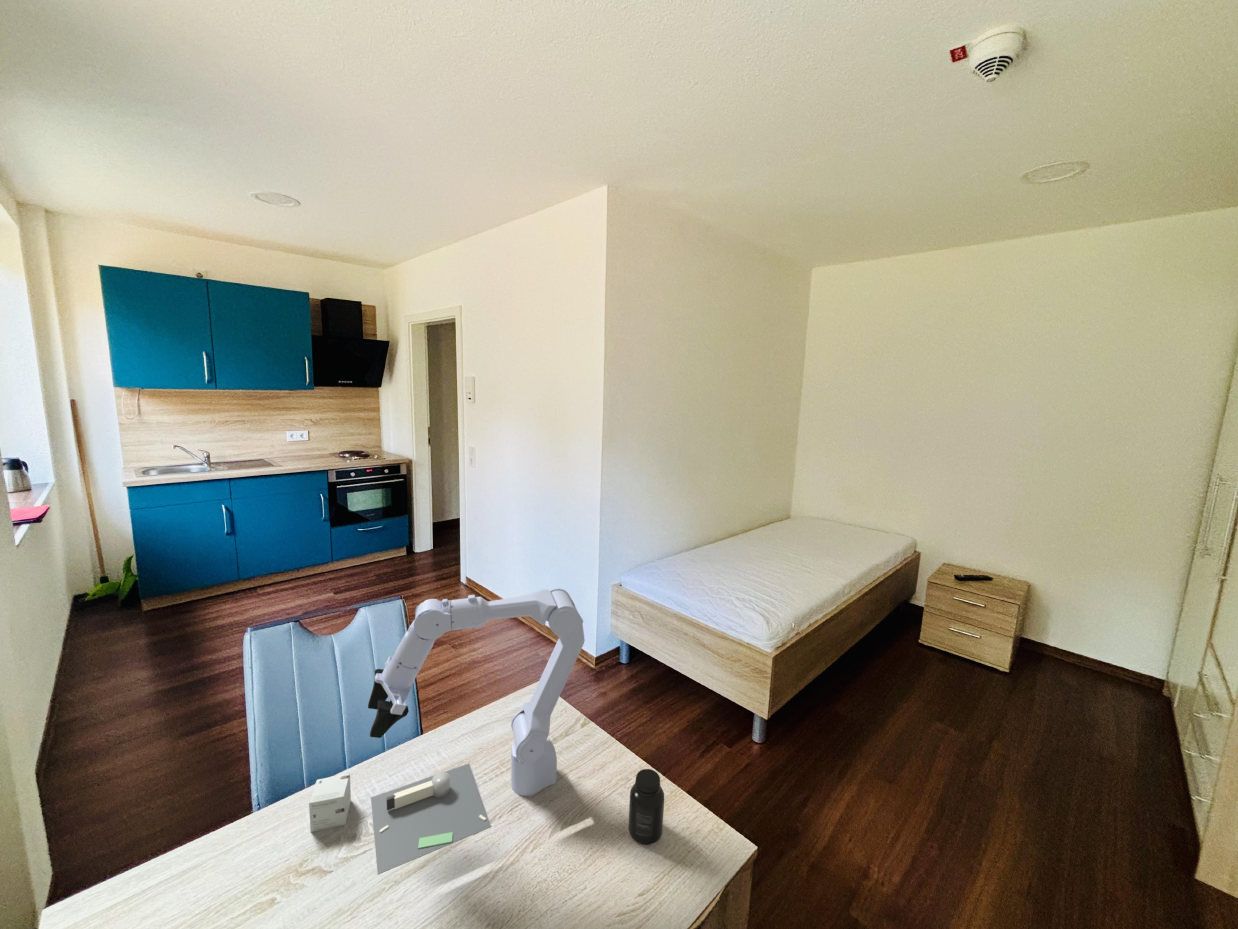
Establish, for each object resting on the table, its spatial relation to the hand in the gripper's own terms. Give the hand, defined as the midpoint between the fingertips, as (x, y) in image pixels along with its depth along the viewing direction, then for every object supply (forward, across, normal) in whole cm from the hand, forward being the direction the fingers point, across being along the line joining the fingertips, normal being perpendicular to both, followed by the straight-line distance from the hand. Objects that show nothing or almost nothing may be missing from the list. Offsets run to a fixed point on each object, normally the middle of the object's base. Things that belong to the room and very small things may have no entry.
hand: (374, 721), depth 94 cm
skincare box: (+24, -2, +3) cm, 24 cm away
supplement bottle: (-4, +28, +50) cm, 58 cm away
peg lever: (+15, +2, +16) cm, 22 cm away
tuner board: (+15, +6, +18) cm, 24 cm away
